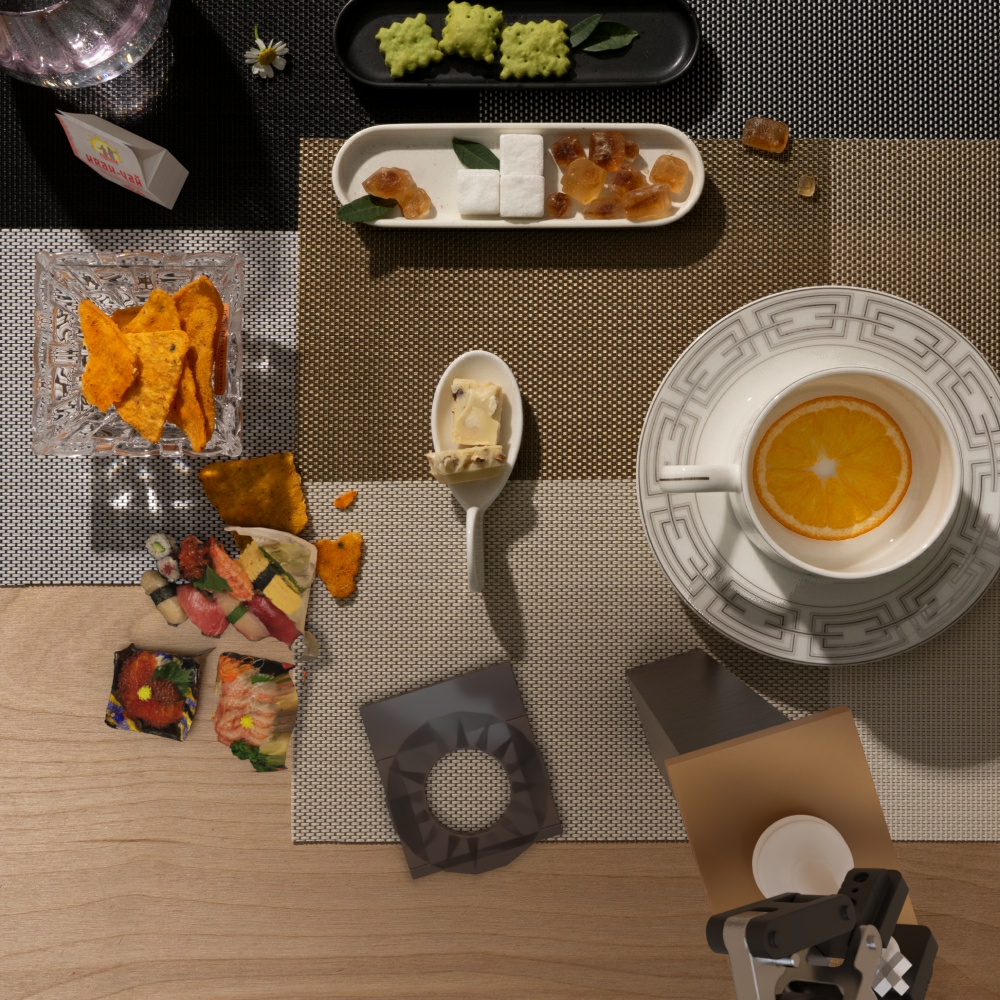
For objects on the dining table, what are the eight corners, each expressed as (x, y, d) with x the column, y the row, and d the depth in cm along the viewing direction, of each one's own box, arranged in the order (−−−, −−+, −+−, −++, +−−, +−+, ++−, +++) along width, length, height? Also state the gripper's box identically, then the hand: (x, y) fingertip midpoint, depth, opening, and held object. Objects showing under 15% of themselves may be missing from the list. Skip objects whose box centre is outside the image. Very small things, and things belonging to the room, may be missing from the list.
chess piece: (731, 865, 39) (808, 990, 29) (798, 794, 39) (897, 894, 29) (803, 932, 39) (904, 1080, 29) (870, 860, 39) (994, 984, 29)
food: (153, 501, 71) (134, 501, 67) (353, 543, 71) (345, 545, 67) (104, 737, 71) (83, 749, 68) (304, 779, 71) (293, 794, 67)
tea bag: (128, 146, 71) (65, 89, 61) (194, 178, 71) (143, 126, 61) (111, 183, 71) (45, 131, 61) (177, 214, 71) (123, 168, 61)
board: (568, 836, 71) (570, 846, 69) (417, 882, 71) (414, 894, 69) (511, 655, 71) (511, 660, 69) (360, 702, 71) (356, 708, 69)
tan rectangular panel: (910, 919, 41) (920, 929, 40) (730, 973, 42) (735, 985, 41) (843, 704, 41) (851, 709, 40) (663, 759, 42) (667, 766, 41)
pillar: (722, 728, 70) (872, 891, 41) (648, 751, 71) (746, 930, 42) (696, 644, 70) (827, 748, 41) (622, 667, 71) (701, 787, 42)
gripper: (985, 1671, 18) (1071, 1063, 31) (716, 1154, 19) (909, 751, 31) (723, 1488, 24) (885, 1032, 36) (516, 1087, 24) (747, 767, 36)
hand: (895, 904), depth 33 cm, fingers closed on chess piece
